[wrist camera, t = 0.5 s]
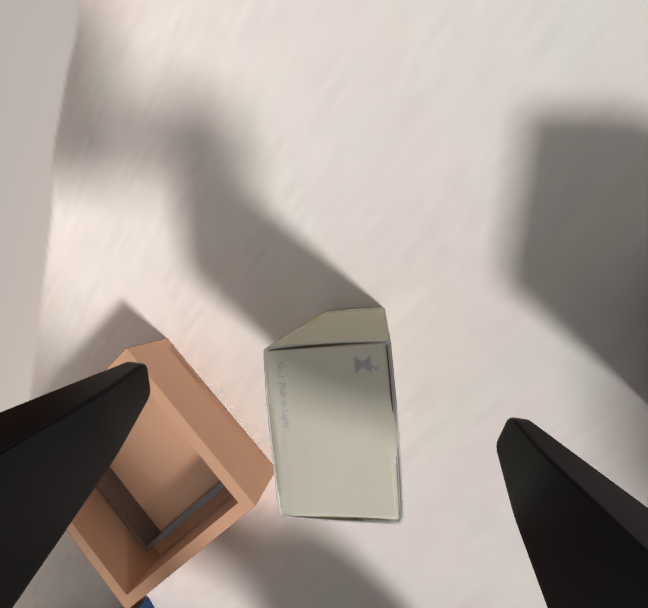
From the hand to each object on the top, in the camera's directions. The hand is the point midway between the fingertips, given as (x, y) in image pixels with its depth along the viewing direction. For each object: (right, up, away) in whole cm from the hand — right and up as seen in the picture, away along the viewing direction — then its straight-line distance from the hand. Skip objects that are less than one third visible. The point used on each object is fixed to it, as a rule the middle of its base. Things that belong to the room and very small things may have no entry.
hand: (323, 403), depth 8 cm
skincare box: (+2, -1, +15) cm, 15 cm away
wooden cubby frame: (-13, -9, +18) cm, 24 cm away
